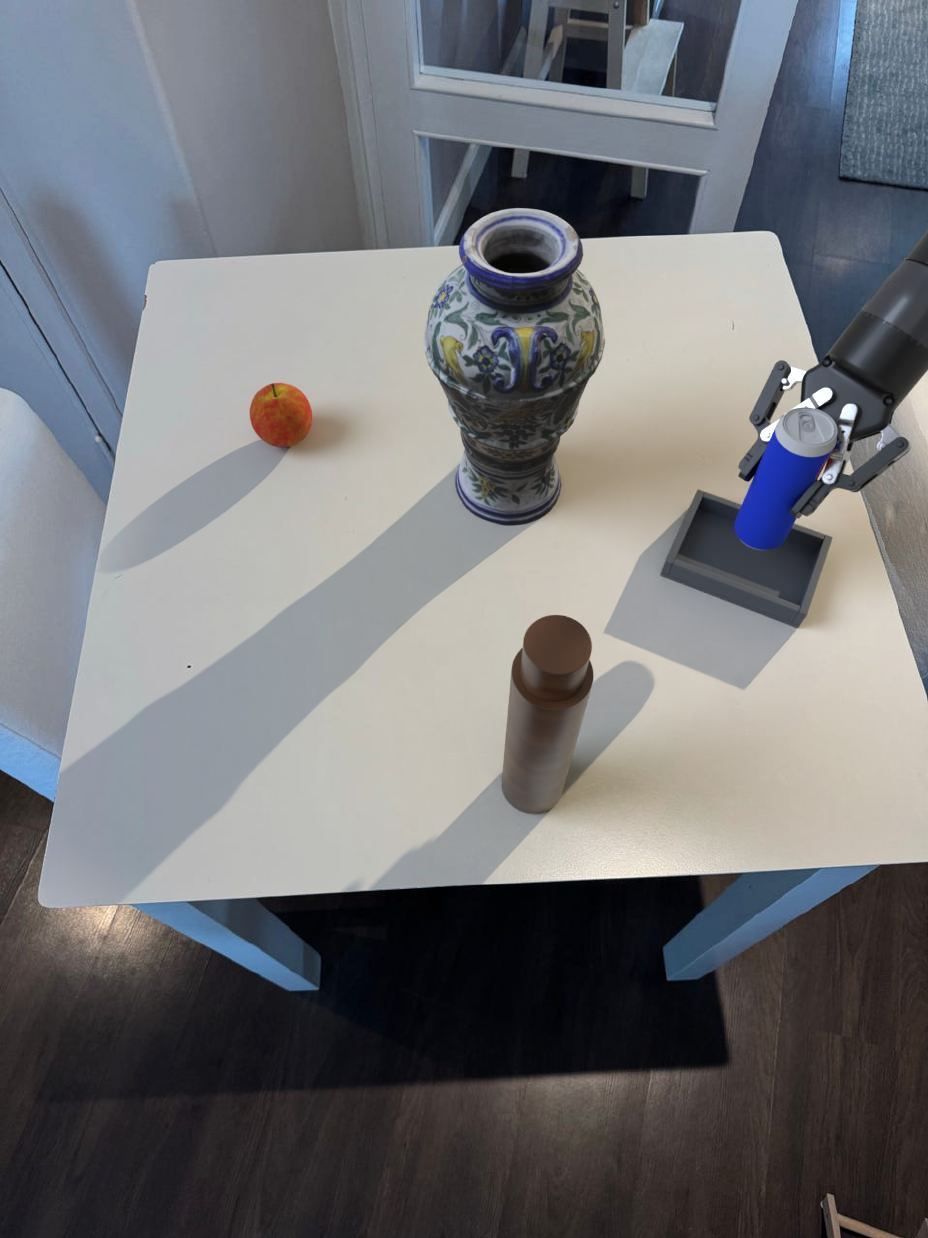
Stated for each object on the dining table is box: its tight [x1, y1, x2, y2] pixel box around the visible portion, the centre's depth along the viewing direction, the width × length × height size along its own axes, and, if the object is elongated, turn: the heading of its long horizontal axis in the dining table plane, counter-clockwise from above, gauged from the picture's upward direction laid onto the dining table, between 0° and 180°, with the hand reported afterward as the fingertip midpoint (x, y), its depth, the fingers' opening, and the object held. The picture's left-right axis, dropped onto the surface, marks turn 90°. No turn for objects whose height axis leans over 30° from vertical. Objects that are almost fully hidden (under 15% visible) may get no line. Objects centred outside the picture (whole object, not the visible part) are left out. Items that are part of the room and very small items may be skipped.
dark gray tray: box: [660, 488, 834, 629], centre depth 87 cm, size 15×11×3 cm
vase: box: [423, 207, 606, 526], centre depth 81 cm, size 17×17×30 cm
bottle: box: [501, 614, 594, 815], centre depth 65 cm, size 6×6×26 cm
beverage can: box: [734, 407, 838, 550], centre depth 77 cm, size 5×5×15 cm
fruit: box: [249, 382, 313, 448], centre depth 94 cm, size 7×7×8 cm
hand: (768, 496), depth 77 cm, fingers closed on beverage can, 5 cm apart
